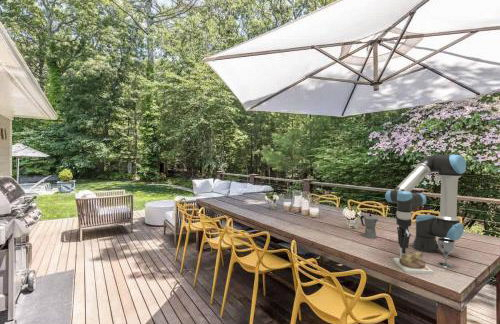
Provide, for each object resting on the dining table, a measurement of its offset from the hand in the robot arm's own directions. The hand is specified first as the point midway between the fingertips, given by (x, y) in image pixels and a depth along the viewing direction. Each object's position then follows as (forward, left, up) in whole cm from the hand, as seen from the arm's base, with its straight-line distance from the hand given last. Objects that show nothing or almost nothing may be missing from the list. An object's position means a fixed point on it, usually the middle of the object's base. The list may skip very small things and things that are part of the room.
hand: (402, 258), depth 159 cm
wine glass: (-26, -5, -5) cm, 27 cm away
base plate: (-5, 0, -5) cm, 7 cm away
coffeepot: (+2, -58, -5) cm, 58 cm away
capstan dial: (-5, 0, -3) cm, 6 cm away
